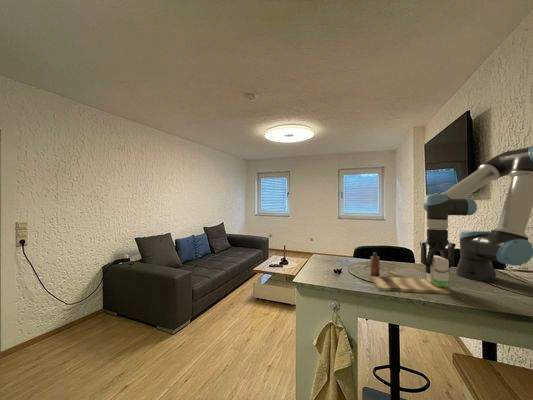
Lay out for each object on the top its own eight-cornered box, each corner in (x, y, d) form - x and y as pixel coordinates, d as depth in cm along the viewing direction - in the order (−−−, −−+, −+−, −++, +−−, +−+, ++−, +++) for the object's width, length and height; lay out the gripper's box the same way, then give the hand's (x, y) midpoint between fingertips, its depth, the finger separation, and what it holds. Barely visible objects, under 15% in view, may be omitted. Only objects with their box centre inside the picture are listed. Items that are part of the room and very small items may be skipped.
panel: (431, 281, 108) (431, 278, 108) (450, 293, 94) (450, 290, 94) (369, 278, 112) (369, 275, 112) (378, 290, 98) (378, 287, 98)
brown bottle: (377, 275, 117) (377, 252, 117) (380, 277, 113) (380, 254, 114) (369, 274, 118) (369, 251, 118) (372, 277, 114) (372, 253, 114)
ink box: (449, 287, 96) (449, 259, 96) (436, 286, 97) (436, 259, 97) (437, 280, 104) (438, 255, 105) (426, 279, 105) (426, 254, 105)
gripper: (454, 228, 103) (454, 279, 103) (411, 227, 106) (411, 277, 106) (466, 230, 96) (466, 285, 96) (419, 229, 99) (419, 282, 98)
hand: (437, 280), depth 101 cm, fingers closed on ink box, 5 cm apart
